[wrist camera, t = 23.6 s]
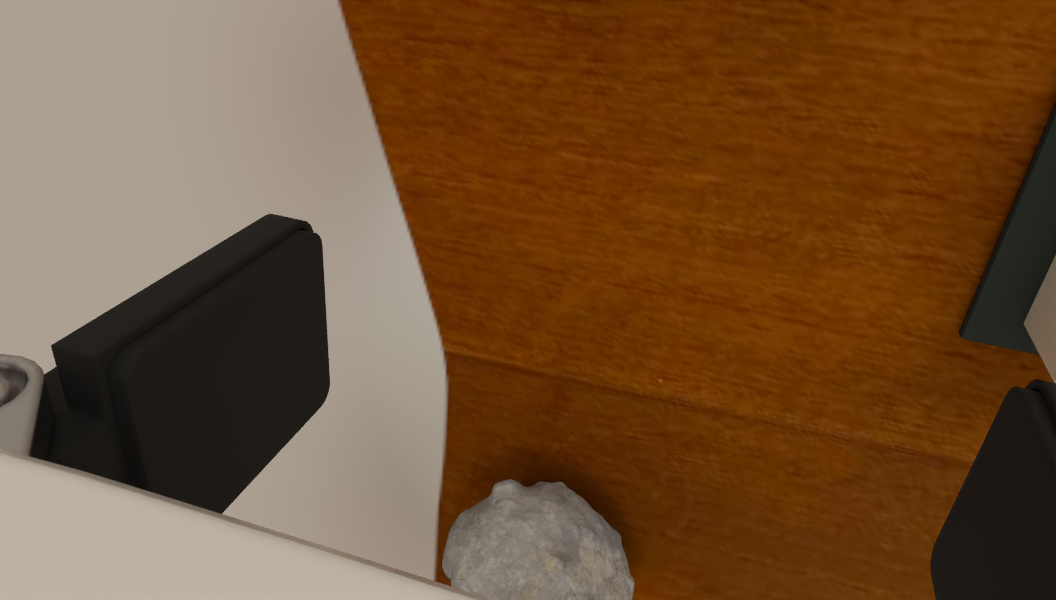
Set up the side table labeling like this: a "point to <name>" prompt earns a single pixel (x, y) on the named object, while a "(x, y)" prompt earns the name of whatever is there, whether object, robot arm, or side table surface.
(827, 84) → the side table surface
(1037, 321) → the letter i
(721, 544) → the side table surface
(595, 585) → the stone
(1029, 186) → the word mat
